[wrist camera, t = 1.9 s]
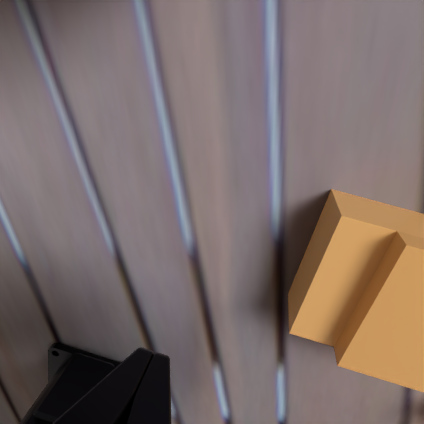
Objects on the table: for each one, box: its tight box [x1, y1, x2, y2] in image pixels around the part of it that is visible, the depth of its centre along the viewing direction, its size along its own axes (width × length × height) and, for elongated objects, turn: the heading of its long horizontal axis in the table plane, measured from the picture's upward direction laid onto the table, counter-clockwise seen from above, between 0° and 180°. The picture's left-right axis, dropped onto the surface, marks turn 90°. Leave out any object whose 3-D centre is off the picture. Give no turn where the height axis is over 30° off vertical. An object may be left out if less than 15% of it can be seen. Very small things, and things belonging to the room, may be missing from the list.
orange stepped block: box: [288, 189, 424, 392], centre depth 14 cm, size 6×7×4 cm
